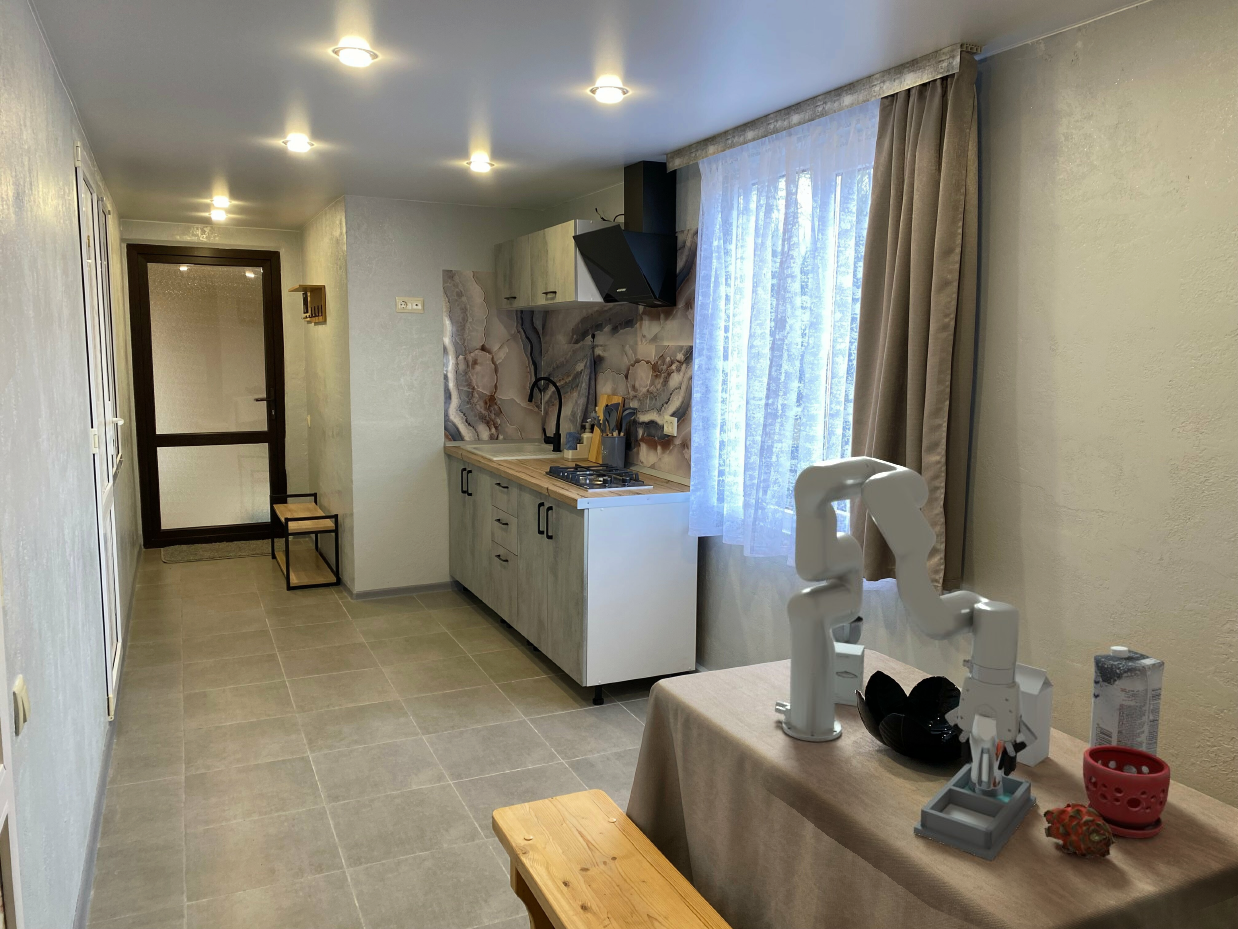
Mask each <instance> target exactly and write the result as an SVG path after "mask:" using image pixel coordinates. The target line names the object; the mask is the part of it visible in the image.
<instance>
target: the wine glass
mask: <svg viewBox="0 0 1238 929" xmlns="http://www.w3.org/2000/svg"><path fill="white" fill-rule="evenodd" d="M863 630H864V617H863V616H861V615H860V614H859V615H858V617H857V618H856V619H855V620H854V621H852V622H850V623H847V624H845V625H841V626H838V627H835V628H832V629H830V633H831V638H832V641H833V642H837V643H845V644H853V645H858V643H859V642H860V640H861V639H862V635H863Z"/></svg>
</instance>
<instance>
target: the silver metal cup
mask: <svg viewBox="0 0 1238 929" xmlns="http://www.w3.org/2000/svg"><path fill="white" fill-rule="evenodd" d="M1009 731H1010V730H1009ZM968 738H969V748H970V756H971V761H970V764H972V770H971V776H970V780H969V784H968V787H969V789H970V791H971V792H973V793H977V794H980V795H983V796H986V797H989V798H999V797H1001V796H1003V795H1004V793H1005V790H1004V782H1003V774H1004V757H1005V754H1006V753H1007V749H1006V746H1005V743H1006V742H1004V741H1000V740H998V739H997V734H996V720H995V718H990V717H985V716H982V715H979V714H976V713H975V719H974V723H973V728H972V732H968Z"/></svg>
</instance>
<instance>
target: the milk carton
mask: <svg viewBox="0 0 1238 929" xmlns="http://www.w3.org/2000/svg"><path fill="white" fill-rule="evenodd" d="M1047 674H1048V673H1047V670H1046V669H1042V668H1038V667H1036V666H1035V667H1034V666H1030V665H1027V664H1023V663H1019V662H1017V670H1016V681H1018V682H1019V684H1020V689H1021V697H1022V711H1023V721H1024V722H1025V723H1026V724H1027V725H1028V727H1029V728H1030V729H1031V730H1032V731H1033V732H1034V734H1035V735H1036V736H1037V738H1038V739H1037V740H1036V741H1035V742H1034V743H1033V744H1031V745H1030V746H1028V747H1026V748H1025V749H1024V750H1022V751H1020V752H1019V753H1017V761H1016V762H1017V763H1021V764H1024V765H1026V766H1029V767H1035V766H1036V765H1037V764H1039V763H1041V762H1042V761H1044V760H1045V759H1046V758H1048V757H1049V754H1050V742H1051V726H1052V723H1051V722H1052V709H1053V708H1052V707H1053V691H1054V688H1053V687H1054V685H1053V684H1052V682H1051V680H1050V679H1049V678H1048V676H1047ZM1016 739H1017V741H1018V742H1020V741H1022V740H1024V739H1025V736H1024V735H1023V734H1022V733H1020V734H1018V735H1017V738H1016Z"/></svg>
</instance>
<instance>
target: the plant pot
mask: <svg viewBox="0 0 1238 929" xmlns="http://www.w3.org/2000/svg"><path fill="white" fill-rule="evenodd" d="M1099 761H1101V764H1100V765H1099V764H1098V762H1099ZM1111 761H1114V762H1116V766H1115V767H1114V768H1111V767H1110V766H1109V763H1110V762H1111ZM1127 765H1131V766H1133V767H1134V768H1135V769H1136V771H1137V774H1129V773H1125V772H1124V767H1125V766H1127ZM1143 766H1145V767H1147V768H1148V770H1149V772H1148V773H1144V772H1143V770H1142V767H1143ZM1092 776H1093V777H1094V779H1093V780H1092ZM1082 778H1083V784H1084V791H1085V794H1086V797H1087V799H1088V801H1089V803H1087V805H1086V807H1087V808H1092V809H1093V810H1095V811H1096V812H1097V813H1098V814H1099V815H1100V816H1101V817H1102V819H1103V821H1104V822H1106V824H1107V825H1108V826H1109V828H1110V829H1111V831H1112V834H1115V835H1118V836H1121V837H1126V838H1133V839H1147V838H1150V837H1153V836H1155V835H1158V833H1160V832H1161V831H1162V830H1163V827H1164V822H1163V820H1162V818H1161V814H1162V813H1163V811H1164V809H1165V807H1166V804H1167V802H1168V796H1169V790H1170V784H1171V783H1170V782H1171V768H1170V766H1169V764H1168V763H1167V762H1166V761H1164V760H1163V759H1162V758H1160V757H1159V756H1157V755H1156V756H1155V755H1152V754H1150V753H1148V752H1145V751H1141V750H1138V749H1134V748H1129V747H1123V746H1114V745H1102V746H1095V747H1091V748H1089V747H1088V748H1087V749H1086V750H1085V751H1084V752H1083V758H1082Z"/></svg>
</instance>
